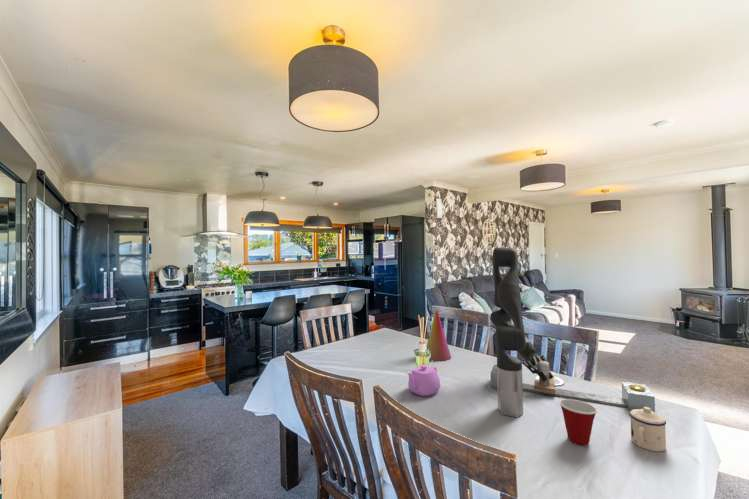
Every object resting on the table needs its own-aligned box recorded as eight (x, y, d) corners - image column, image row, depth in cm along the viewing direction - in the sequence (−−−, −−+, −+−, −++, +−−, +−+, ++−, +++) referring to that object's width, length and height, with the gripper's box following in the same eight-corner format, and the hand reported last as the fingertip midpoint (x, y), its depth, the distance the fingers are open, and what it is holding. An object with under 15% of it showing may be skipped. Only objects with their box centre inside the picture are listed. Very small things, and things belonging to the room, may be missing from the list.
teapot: (425, 381, 159) (425, 357, 159) (448, 390, 149) (447, 364, 149) (396, 394, 146) (396, 368, 146) (419, 404, 136) (418, 376, 136)
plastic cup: (605, 443, 106) (604, 406, 106) (587, 454, 101) (586, 415, 101) (571, 428, 116) (570, 394, 116) (553, 437, 110) (552, 402, 110)
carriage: (555, 394, 140) (554, 366, 140) (534, 390, 143) (533, 364, 143) (554, 386, 148) (553, 360, 148) (534, 383, 151) (534, 358, 151)
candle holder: (531, 382, 157) (531, 373, 157) (540, 374, 166) (540, 366, 166) (559, 389, 149) (559, 379, 149) (566, 381, 157) (566, 372, 157)
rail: (655, 415, 123) (654, 395, 123) (490, 388, 150) (490, 371, 150) (646, 401, 134) (645, 383, 134) (494, 378, 161) (494, 363, 161)
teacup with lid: (635, 433, 112) (634, 398, 112) (670, 445, 104) (669, 409, 105) (622, 445, 105) (621, 409, 105) (659, 460, 97) (658, 421, 98)
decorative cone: (418, 357, 196) (417, 307, 197) (435, 351, 207) (433, 303, 207) (440, 363, 184) (439, 310, 185) (456, 356, 195) (455, 306, 195)
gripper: (518, 343, 148) (545, 379, 138) (536, 338, 156) (563, 371, 146) (508, 352, 153) (533, 387, 142) (526, 347, 160) (551, 379, 150)
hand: (548, 379), depth 144 cm, fingers closed on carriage, 4 cm apart
